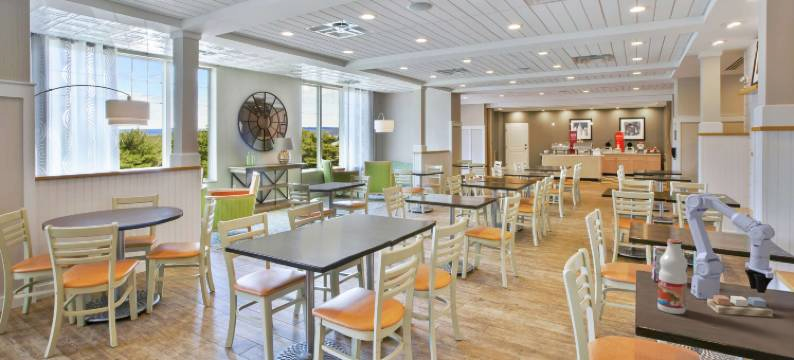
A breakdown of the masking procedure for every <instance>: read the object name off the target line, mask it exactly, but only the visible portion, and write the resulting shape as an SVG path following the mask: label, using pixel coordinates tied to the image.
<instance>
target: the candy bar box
mask: <svg viewBox="0 0 794 360" xmlns="http://www.w3.org/2000/svg"><path fill="white" fill-rule="evenodd" d="M652 249H653V253H652V265H651V267H652V268H651V269H652V270H651V279H652V282H654V283H659V272H660V270H661V265H660V258H661V257H662V255H663V254H664V253H665V251H666V249H667V246H661V245H653V248H652ZM681 250H682V253H683V249H682V248H681ZM683 254H684V253H683Z"/></svg>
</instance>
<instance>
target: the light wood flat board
mask: <svg viewBox="0 0 794 360" xmlns="http://www.w3.org/2000/svg"><path fill="white" fill-rule="evenodd" d="M706 305H707V306H708V307H709V308H711V310H713V311H715V313H716V314H720V315H734V316H735V315H736V316H737V315H739V316H752V317H755V316H756V317H765V318H773V315H774V310H773V309H771V308H770V307H769V306H766V308H764V307H753V306H752V305H750V304H748V306H735V305H734V304H732V303H731V302H730V305H718V304H717V303H715V302H714V301H713V299H706Z"/></svg>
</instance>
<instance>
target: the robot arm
mask: <svg viewBox="0 0 794 360" xmlns="http://www.w3.org/2000/svg"><path fill="white" fill-rule="evenodd" d="M684 203H685V207H686V208H685V217H686V220H687V223H688V224H687V225H688V226H689V227H688V228H689V231H690V233H691V235H692V240H693V242H694V246H695V248H696V252H697V256H696V258H695V259H694V261H695V271H696V272H697V274H694V275H692V276H691V287H690V293H691V294H692V295H693V296H695V297H696V298H697V299H700V300H707V299H713V295H720V285H721V276H722V274H723V273H724V272H725V271H726V269H725V265H724V262H722V260H721V259H720V256H719V255H718V254H717V253H715V252H714V250H713V247H712V245H711V240H710V237H709V235H708V232H707V228H706V226H705V223H704V220H703V217H702V216H703V215H704V213H705V212H707V210H709V209H712V210H714V211H716V212H718V213H720V214H722V215H723V216H725V217H727V218H729V219H731V223H732V225H734V226H736V227H737V228H739V229H741V230H742V231H744V232H745V233H747V234H748V237H749V239H750V253H749V254H750V255H749V261H745V264H744V265H745V267H746V268H748V269H744V272H745V274H746V275H747V278H748V281H749V286H750V289H752V290H756V292H757V293H759V294H766V291H767V288H768V286H769V285H770V283H771V282H772V281H773V280H774V279H775V273H774V272H773V268H772V267H770V260H771V258H770V257H771V245H772V244H771V243H772V239H773V238H774V237H775V235H776V233H775V229H774V228H773V227H772V226H771V225H770V224H767V223H762V221H760V220H756V219H755V218H753V217H752V216H750V213H748V212H738V211H737V210H735V209H733V208H732V207H730V206H729V205H727V204H726V203H725V202H723V201H722V200H721V199H720V198H718V196H716V195H713V194H712V193H711V192H704V193H691V194H689V195H688V196H687V197H686V199H685V200H684Z"/></svg>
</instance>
